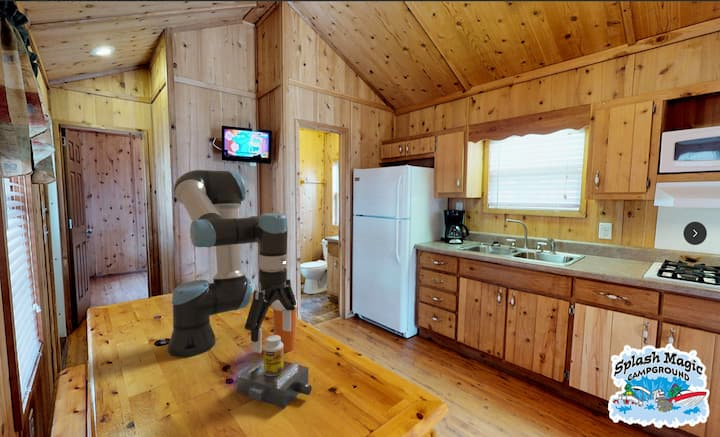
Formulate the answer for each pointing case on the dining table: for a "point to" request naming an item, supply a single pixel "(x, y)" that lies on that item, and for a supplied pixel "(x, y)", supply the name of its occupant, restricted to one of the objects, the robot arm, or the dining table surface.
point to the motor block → (274, 383)
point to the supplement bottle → (273, 356)
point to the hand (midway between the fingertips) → (272, 340)
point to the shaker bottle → (286, 336)
